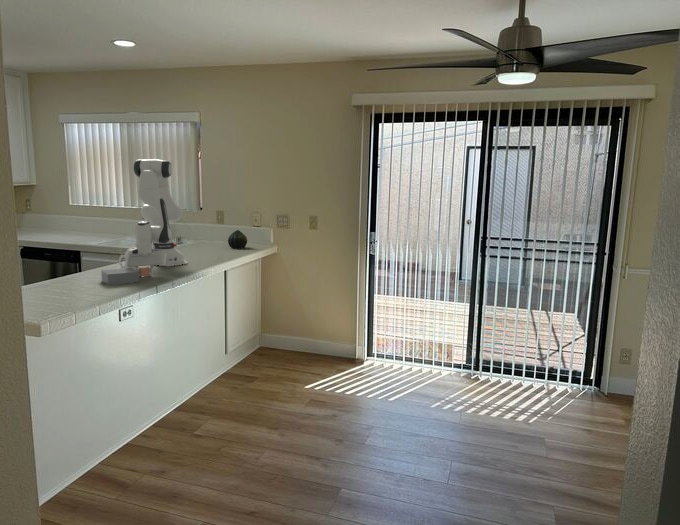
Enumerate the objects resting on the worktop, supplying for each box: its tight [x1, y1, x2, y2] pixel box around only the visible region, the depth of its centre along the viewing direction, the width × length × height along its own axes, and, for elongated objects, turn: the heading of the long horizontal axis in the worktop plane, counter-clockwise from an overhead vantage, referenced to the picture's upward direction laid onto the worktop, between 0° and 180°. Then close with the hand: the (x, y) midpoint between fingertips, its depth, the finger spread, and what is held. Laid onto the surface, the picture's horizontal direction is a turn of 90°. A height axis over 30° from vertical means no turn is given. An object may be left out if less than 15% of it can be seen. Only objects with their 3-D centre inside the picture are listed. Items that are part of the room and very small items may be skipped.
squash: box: [227, 229, 248, 250], centre depth 413 cm, size 14×15×15 cm
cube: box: [137, 266, 151, 278], centre depth 300 cm, size 5×5×5 cm
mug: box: [118, 251, 137, 271], centre depth 306 cm, size 10×7×12 cm, turn 107°
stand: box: [100, 268, 140, 286], centre depth 283 cm, size 16×12×6 cm
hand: (144, 273), depth 300 cm, fingers closed on cube, 5 cm apart
